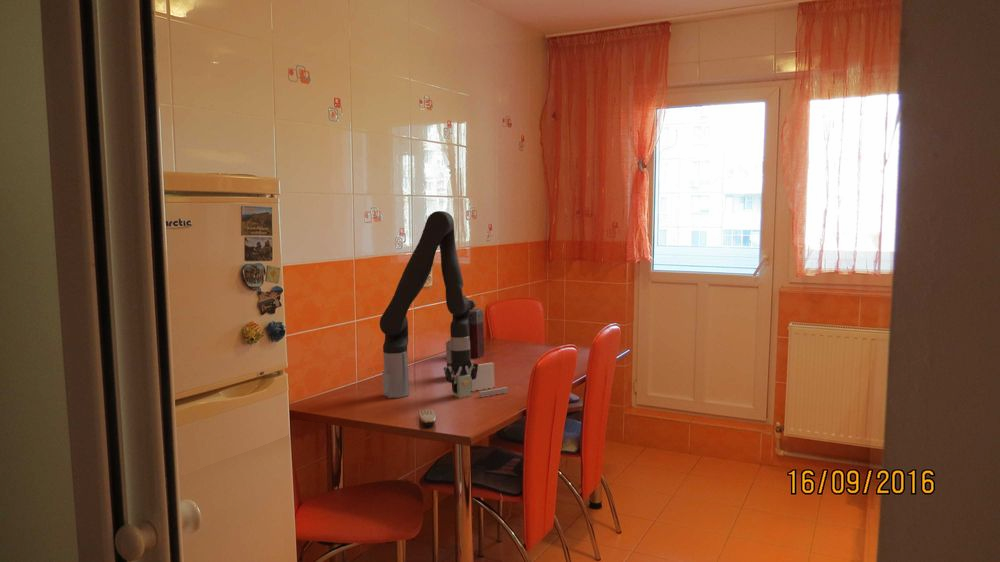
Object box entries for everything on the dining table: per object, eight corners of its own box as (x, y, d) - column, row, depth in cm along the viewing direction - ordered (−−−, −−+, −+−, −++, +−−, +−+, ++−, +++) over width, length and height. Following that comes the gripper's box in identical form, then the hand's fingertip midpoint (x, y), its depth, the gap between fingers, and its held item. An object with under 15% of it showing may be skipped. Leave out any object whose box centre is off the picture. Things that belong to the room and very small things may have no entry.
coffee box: (461, 380, 292) (460, 342, 291) (446, 380, 294) (445, 342, 292) (467, 375, 301) (465, 338, 300) (452, 375, 302) (451, 338, 301)
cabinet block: (461, 398, 263) (460, 377, 262) (452, 394, 269) (451, 374, 268) (472, 396, 265) (472, 375, 264) (464, 392, 271) (463, 372, 270)
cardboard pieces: (480, 397, 263) (479, 371, 262) (466, 391, 273) (465, 366, 272) (507, 392, 269) (507, 367, 268) (493, 387, 279) (492, 362, 278)
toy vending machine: (459, 359, 336) (457, 301, 334) (467, 354, 347) (465, 298, 345) (477, 359, 334) (474, 301, 331) (484, 355, 344) (482, 298, 342)
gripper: (447, 351, 259) (449, 396, 260) (481, 347, 266) (483, 390, 267) (439, 348, 265) (440, 392, 267) (472, 344, 272) (474, 387, 274)
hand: (462, 391), depth 267 cm, fingers closed on cabinet block, 5 cm apart
